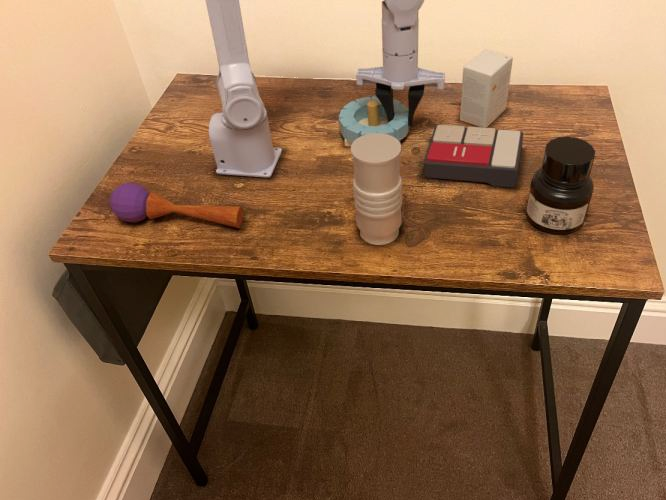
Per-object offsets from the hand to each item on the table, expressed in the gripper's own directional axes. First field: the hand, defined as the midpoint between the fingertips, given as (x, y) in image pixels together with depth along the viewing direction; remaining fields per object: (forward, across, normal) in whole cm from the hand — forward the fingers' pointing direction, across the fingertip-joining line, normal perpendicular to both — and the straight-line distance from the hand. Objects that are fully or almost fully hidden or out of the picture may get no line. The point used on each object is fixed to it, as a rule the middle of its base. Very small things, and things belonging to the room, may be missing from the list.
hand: (400, 122), depth 108 cm
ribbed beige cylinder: (+3, 0, -26) cm, 26 cm away
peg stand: (+3, -5, 0) cm, 5 cm away
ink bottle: (+3, +26, -19) cm, 32 cm away
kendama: (+3, -31, -27) cm, 41 cm away
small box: (+3, +14, +8) cm, 17 cm away
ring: (+1, -5, 0) cm, 5 cm away
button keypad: (+3, +13, -7) cm, 15 cm away
